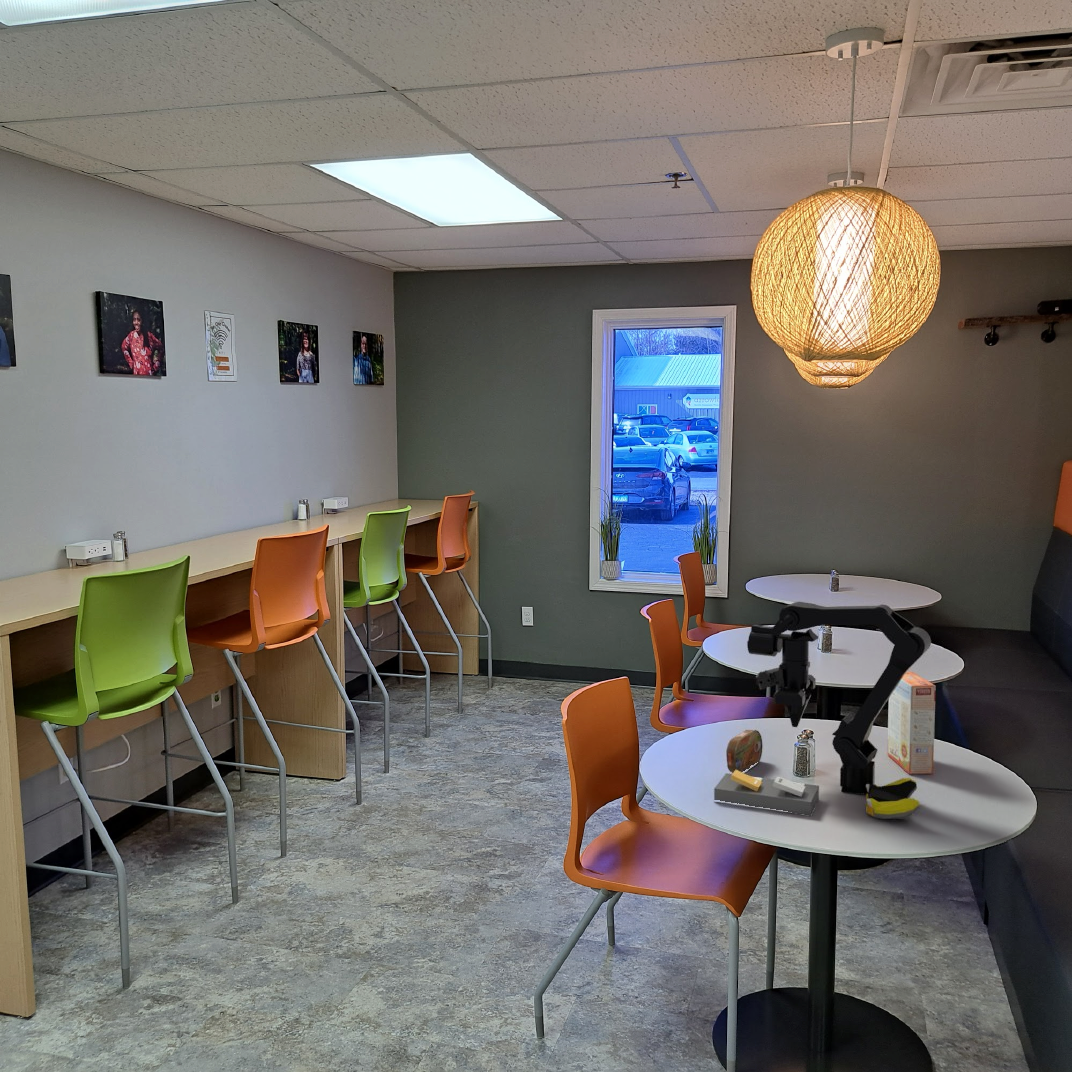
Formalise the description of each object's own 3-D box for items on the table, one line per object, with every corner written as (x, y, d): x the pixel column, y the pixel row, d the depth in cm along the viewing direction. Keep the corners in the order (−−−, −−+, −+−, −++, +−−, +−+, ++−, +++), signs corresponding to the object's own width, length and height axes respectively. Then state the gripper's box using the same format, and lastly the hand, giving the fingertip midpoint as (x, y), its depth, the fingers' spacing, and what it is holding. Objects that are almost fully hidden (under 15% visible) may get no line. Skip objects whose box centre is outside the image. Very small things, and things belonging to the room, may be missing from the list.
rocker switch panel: (818, 799, 199) (818, 783, 199) (810, 816, 190) (810, 799, 190) (726, 786, 208) (726, 771, 207) (714, 802, 199) (714, 786, 198)
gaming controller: (915, 801, 197) (865, 796, 200) (916, 776, 196) (866, 771, 200) (920, 829, 183) (865, 823, 186) (920, 802, 182) (866, 797, 186)
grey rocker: (804, 790, 195) (805, 786, 195) (801, 796, 192) (802, 792, 192) (776, 780, 198) (777, 775, 198) (772, 786, 195) (774, 781, 194)
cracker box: (935, 775, 212) (937, 684, 210) (908, 775, 212) (909, 685, 210) (911, 754, 226) (913, 670, 224) (886, 755, 226) (887, 670, 224)
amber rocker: (760, 785, 199) (762, 781, 199) (756, 791, 196) (758, 787, 196) (734, 773, 202) (735, 769, 201) (730, 779, 198) (731, 774, 198)
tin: (736, 779, 212) (736, 743, 211) (723, 776, 214) (723, 740, 213) (763, 760, 224) (763, 726, 223) (751, 758, 226) (751, 724, 225)
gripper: (767, 647, 221) (767, 712, 222) (750, 665, 204) (749, 734, 206) (816, 651, 216) (815, 716, 218) (802, 669, 199) (801, 740, 201)
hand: (794, 726), depth 211 cm, fingers closed
